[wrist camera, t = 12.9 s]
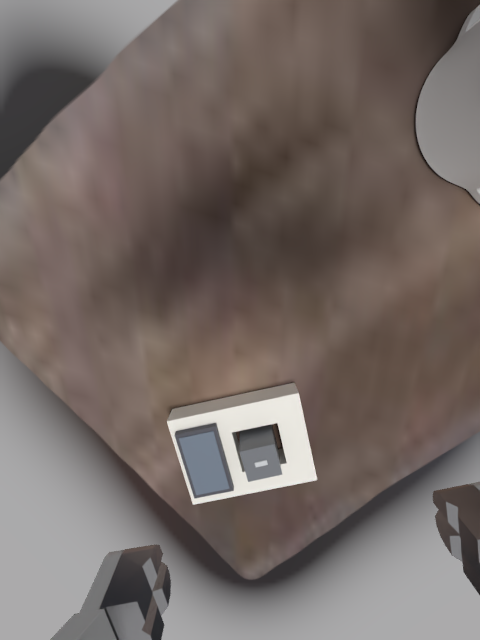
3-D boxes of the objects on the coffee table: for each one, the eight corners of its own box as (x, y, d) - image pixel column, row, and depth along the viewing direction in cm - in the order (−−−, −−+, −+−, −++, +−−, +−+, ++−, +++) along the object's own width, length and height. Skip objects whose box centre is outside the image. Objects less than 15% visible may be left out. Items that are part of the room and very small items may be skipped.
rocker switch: (269, 416, 40) (274, 444, 34) (276, 442, 41) (282, 475, 35) (239, 422, 41) (239, 452, 35) (247, 449, 41) (248, 482, 35)
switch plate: (294, 382, 39) (300, 396, 35) (311, 464, 42) (318, 485, 38) (172, 408, 40) (164, 425, 36) (196, 487, 43) (192, 510, 39)
